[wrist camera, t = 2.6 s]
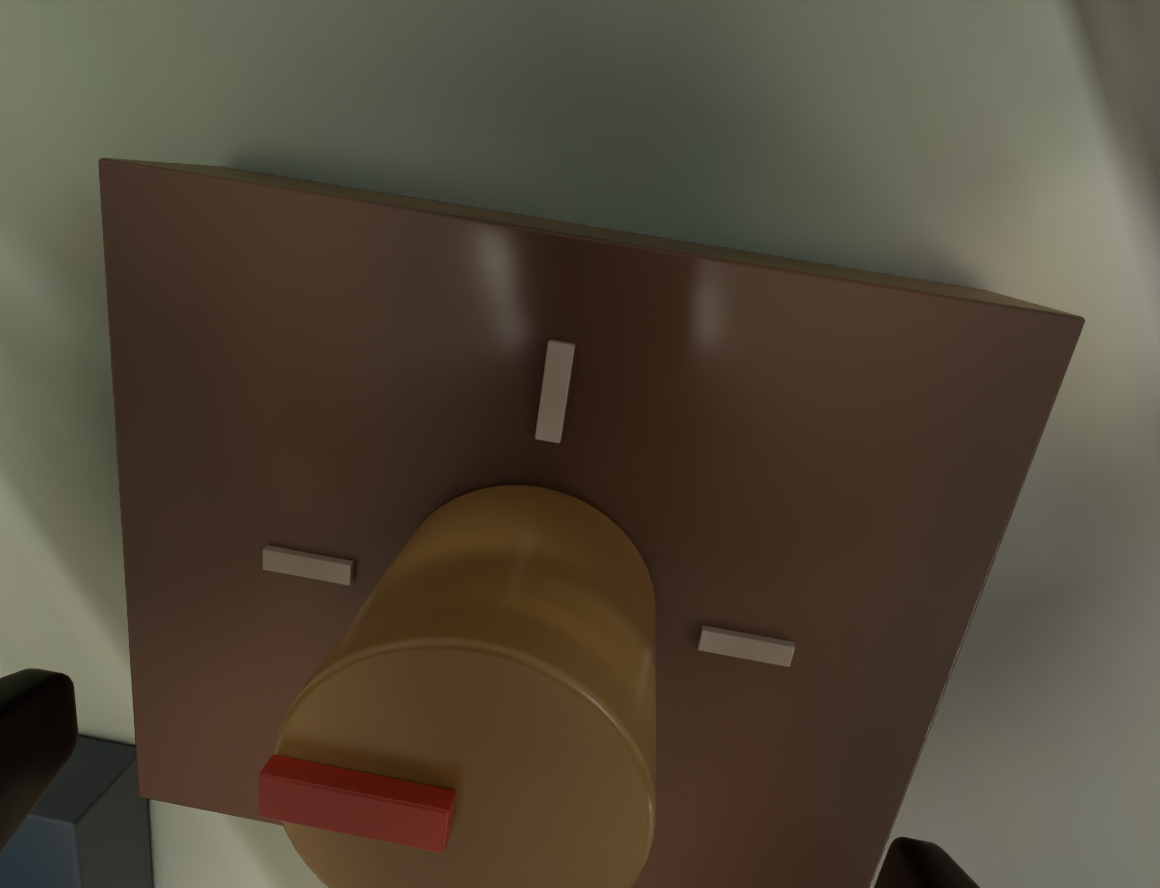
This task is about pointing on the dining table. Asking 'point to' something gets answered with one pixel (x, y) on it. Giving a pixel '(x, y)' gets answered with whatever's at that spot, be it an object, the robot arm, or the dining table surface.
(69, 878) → the button housing
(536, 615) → the dial
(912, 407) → the dial panel
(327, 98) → the dining table surface
